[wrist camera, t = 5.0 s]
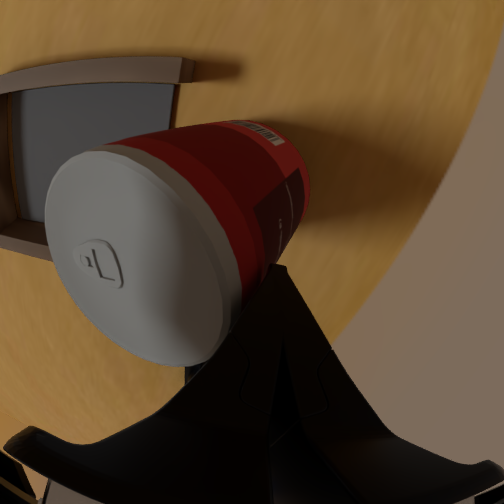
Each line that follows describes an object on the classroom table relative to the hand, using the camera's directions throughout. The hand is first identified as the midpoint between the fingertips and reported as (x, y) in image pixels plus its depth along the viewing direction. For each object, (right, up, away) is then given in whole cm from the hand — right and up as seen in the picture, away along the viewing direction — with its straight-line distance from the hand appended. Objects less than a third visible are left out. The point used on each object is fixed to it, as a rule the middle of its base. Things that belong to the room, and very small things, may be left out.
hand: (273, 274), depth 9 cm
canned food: (-1, +5, +9) cm, 10 cm away
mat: (-13, +7, +9) cm, 17 cm away
